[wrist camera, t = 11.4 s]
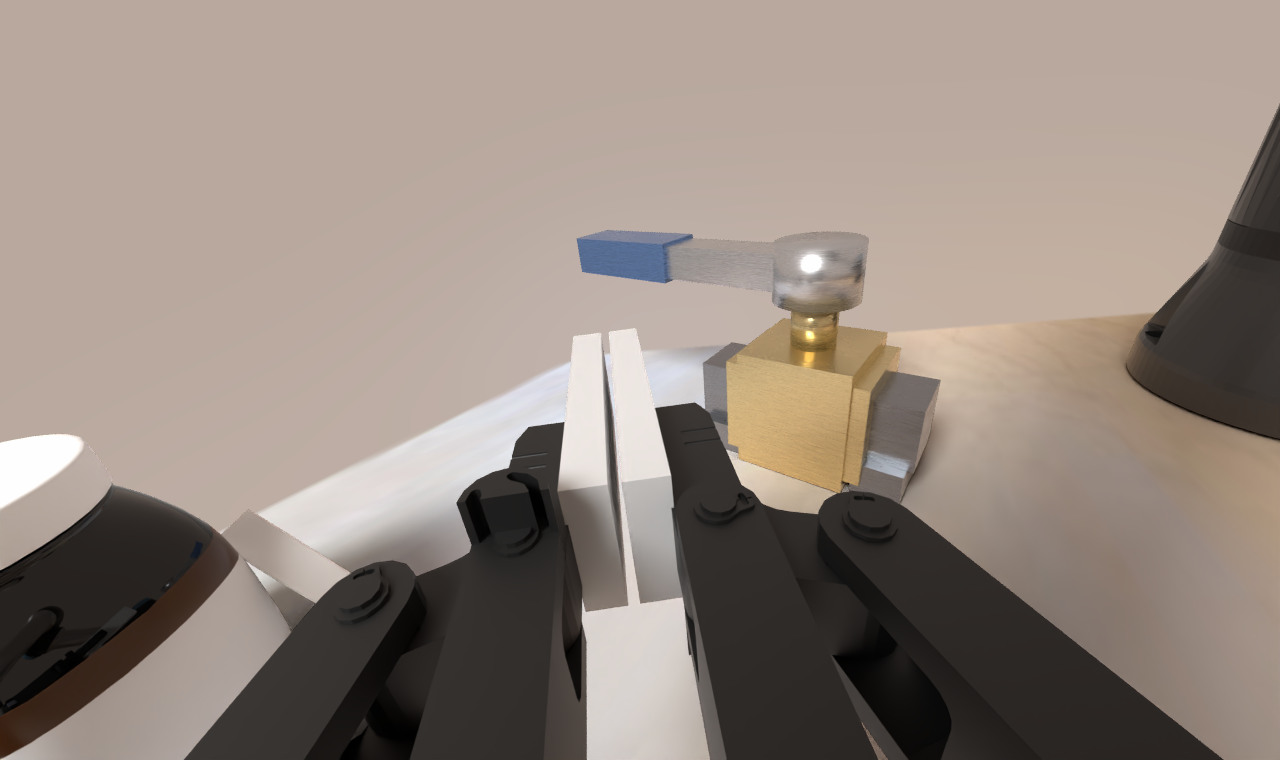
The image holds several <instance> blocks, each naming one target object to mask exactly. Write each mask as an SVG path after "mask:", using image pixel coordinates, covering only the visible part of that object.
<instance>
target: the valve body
mask: <svg viewBox="0 0 1280 760" xmlns="http://www.w3.org/2000/svg"><path fill="white" fill-rule="evenodd" d="M838 323H839V312H833V313H800V312H793V311H791V319H785V318H783V319H782V320H780V321H779V322H778V323H777V324H775V325H774V326H773V327H771V328H769V329H768V330H767V331H765V332H764V333H763V334H761V335H760V336H759V337H757V338H756V339H755V340H754V341H752V342H751V343H750V344H748V345H743V344H738V343H730V344H729V345H728V346H726V347H725V348H724V349H722V350H721V351H719V352H718V353H717V354H715V355H714V356H713V357H711V358H710V359H708V360H707V361H706V362H704V363H703V373H704V392H705V410H706V411H707V412H709V413H710V415H711V418H712V420H713V422H714V424H715V427H716V429H717V431H718V433H719V436H720V438H721V441H722V442H723V445H724V447H725V449H728V450H731V451H734V452H737V453H738V452H739V459H741V460H744V461H747V462H750V463H753V464H756V465H759V466H762V467H764V468H767V469H770V470H773V471H776V472H779V473H782V474H785V475H788V476H791V477H794V478H797V479H799V480H802V481H805V482H808V483H811V484H814V485H817V486H820V487H823V488H826V489H829V490H831V491H834V492H837V493H840V492H841V491H842V489H843V487H844V486H845V484H846V482H847V483H850V484H849V490H850V491H860V492H871V493H874V494H878V495H881V496H884V497H887V498H890V499H892V500H893V501H895V502H897V503H898V504H899V503H900V501H901V499H902V496H903V494H904V492H905V489H906V487H907V485H908V482H909V480H910V478H911V475H912V474H914V471H915V469H916V467H917V464H918V462H919V460H920V457H921V455H922V453H923V450H924V448H925V446H926V443H927V441H928V439H929V434H930V429H931V424H932V419H933V415H934V410H935V405H936V400H937V395H938V390H939V386H940V381H941V380H938V379H932V378H926V377H921V376H915V375H910V374H904V373H899V372H897V369H898V362H899V356H900V350H901V348H899V347H892V346H886V339H887V332H880V331H873V330H866V329H858V328H851V327H843V326H838Z"/></svg>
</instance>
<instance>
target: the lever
mask: <svg viewBox="0 0 1280 760" xmlns="http://www.w3.org/2000/svg"><path fill="white" fill-rule="evenodd" d="M868 242H869V238H868V237H866V236H864V235H861V234H856V233H849V232H812V233H802V234H795V235H790V236H785V237H782V238H779V239H777V240H775V241H774V242H773V243H770V242H751V241H731V240H712V239H693V237H692V234H678V233H655V232H633V231H612V230H607V231H603V232H599V233H595V234H592V235H588V236H584V237H581V238H577V243H578V249H579V255H580V261H581V267H582V272H586V273H593V274H601V275H608V276H616V277H623V278H631V279H637V280H645V281H652V282H660V283H667V282H670V281H672V280H682V281H689V282H697V283H704V284H712V285H720V286H728V287H736V288H745V289H751V290H760V291H768V292H772V302H773V303H774V304H775V305H776V306H778V307H779V308H782V309H785V310H789V311H793V312H800V313H833V312H840V311H845V310H848V309H852V308H854V307H856V306H858V305H859V304H860V303H861V302H862V296H863V287H864V277H865V268H866V259H867V250H868Z"/></svg>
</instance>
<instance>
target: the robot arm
mask: <svg viewBox="0 0 1280 760" xmlns="http://www.w3.org/2000/svg"><path fill="white" fill-rule="evenodd" d="M609 341H610V353H611V365H612V376H613V388H614V400H615V411H616V423H617V435H618V446H619V458H620V469H621V481H622V488H623V495H624V501H625V507H626V514H627V520H628V527H629V533H630V540H631V546H632V553H633V559H634V566H635V572H636V578H637V585H638V591H639V598H640V604H641V603H647V602H654V601H661V600H667V599H674V598H680V597H682V596H683V601H684V607H685V618H686V629H687V639H688V650H689V655H692V661H693V666H694V672H695V677H696V683H697V689H698V694H699V700H700V705H701V711H702V716H703V722H704V727H705V733H706V739H707V744H708V750H709V755H710V760H878V758H877V756H876V754H875V752H874V750H873V747H872V745H871V743H870V741H869V739H868V736H867V734H866V732H865V730H864V728H863V725H862V723H861V721H862V722H863V724H864V725H865V727H866V728H867V730H868V731H869V732H870V734H871V735H872V737H873V738H874V740H875V741H876V742H877V744H878V745H879V747H880V748H881V750H882V751H883V753H884V754H885V755H886V757H887V758H888V760H1223V759H1222V758H1221V757H1219V756H1218V755H1217V754H1216V753H1214V752H1213V751H1212V750H1211V749H1209V748H1208V747H1207V746H1206V745H1204V744H1203V743H1202V742H1201V741H1199V740H1198V739H1197V738H1195V737H1194V736H1193V735H1192V734H1190V733H1189V732H1188V731H1187V730H1185V729H1184V728H1183V727H1182V726H1180V725H1179V724H1178V723H1177V722H1175V721H1174V720H1173V719H1172V718H1170V717H1169V716H1168V715H1166V714H1165V713H1164V712H1163V711H1161V710H1160V709H1159V708H1158V707H1156V706H1155V705H1154V704H1153V703H1151V702H1150V701H1149V700H1148V699H1146V698H1145V697H1144V696H1143V695H1141V694H1140V693H1139V692H1137V691H1136V690H1135V689H1134V688H1132V687H1131V686H1130V685H1129V684H1127V683H1126V682H1125V681H1124V680H1122V679H1121V678H1120V677H1119V676H1117V675H1116V674H1115V673H1113V672H1112V671H1111V670H1110V669H1108V668H1107V667H1106V666H1105V665H1103V664H1102V663H1101V662H1100V661H1098V660H1097V659H1096V658H1095V657H1093V656H1092V655H1091V654H1090V653H1088V652H1087V651H1086V650H1084V649H1083V648H1082V647H1081V646H1079V645H1078V644H1077V643H1076V642H1074V641H1073V640H1072V639H1071V638H1069V637H1068V636H1067V635H1066V634H1064V633H1063V632H1062V631H1061V630H1059V629H1058V628H1057V627H1055V626H1054V625H1053V624H1052V623H1050V622H1049V621H1048V620H1047V619H1045V618H1044V617H1043V616H1042V615H1040V614H1039V613H1038V612H1037V611H1035V610H1034V609H1033V608H1032V607H1030V606H1029V605H1028V604H1026V603H1025V602H1024V601H1023V600H1021V599H1020V598H1019V597H1018V596H1016V595H1015V594H1014V593H1013V592H1011V591H1010V590H1009V589H1008V588H1006V587H1005V586H1004V585H1003V584H1001V583H1000V582H999V581H997V580H996V579H995V578H994V577H992V576H991V575H990V574H989V573H987V572H986V571H985V570H984V569H982V568H981V567H980V566H979V565H977V564H976V563H975V562H974V561H972V560H971V559H970V558H968V557H967V556H966V555H965V554H963V553H962V552H961V551H960V550H958V549H957V548H956V547H955V546H953V545H952V544H951V543H950V542H948V541H947V540H946V539H945V538H943V537H942V536H941V535H939V534H938V533H937V532H936V531H934V530H933V529H932V528H931V527H929V526H928V525H927V524H926V523H924V522H923V521H922V520H921V519H919V518H918V517H917V516H916V515H914V514H913V513H912V512H910V511H909V510H908V509H907V508H905V507H903V506H902V505H900V504H898V503H897V502H895V501H893V500H892V499H890V498H887V497H884V496H881V495H878V494H874V493H871V492H860V491H849V492H843V493H837V494H835V495H833V496H832V497H830V498H828V499H826V500H825V501H824V503H823V505H822V506H821V508H820V510H819V514H809V513H799V512H789V511H784V510H778V509H774V508H772V507H769V506H766V505H764V504H762V503H761V502H760V500H759V499H758V498H757V497H756V495H755V494H754V493H753V492H752V491H750V490H749V489H747V488H745V487H744V486H742V485H741V483H740V481H739V478H738V476H737V474H736V472H735V469H734V467H733V465H732V463H731V460H730V458H729V456H728V454H727V451H726V449H725V447H724V445H723V442H722V441H721V438H720V436H719V433H718V431H717V429H716V427H715V424H714V422H713V420H712V418H711V415H710V413H709V412H707V411H706V410H705V409H703V408H702V407H701V406H699V405H698V404H696V403H688V404H681V405H674V406H667V407H659V408H655V406H654V402H653V398H652V394H651V390H650V386H649V381H648V377H647V373H646V369H645V365H644V361H643V357H642V352H641V348H640V344H639V340H638V336H637V332H636V328H635V329H626V330H619V331H611V332H609ZM1126 365H1127V369H1128V371H1129V372H1130V374H1131V375H1132V376H1133V377H1134V378H1135V379H1136V380H1137V381H1138V382H1139V383H1140V384H1142V385H1143V386H1144V387H1146V388H1147V389H1149V390H1151V391H1152V392H1154V393H1156V394H1157V395H1159V396H1161V397H1163V398H1165V399H1167V400H1169V401H1171V402H1173V403H1175V404H1177V405H1180V406H1182V407H1184V408H1186V409H1189V410H1191V411H1194V412H1196V413H1199V414H1201V415H1204V416H1207V417H1209V418H1212V419H1215V420H1218V421H1221V422H1224V423H1227V424H1230V425H1233V426H1236V427H1239V428H1243V429H1246V430H1249V431H1252V432H1256V433H1260V434H1263V435H1267V436H1270V437H1274V438H1278V439H1280V105H1279V107H1278V109H1277V111H1276V113H1275V115H1274V118H1273V120H1272V122H1271V124H1270V126H1269V129H1268V131H1267V133H1266V135H1265V137H1264V139H1263V142H1262V144H1261V146H1260V148H1259V150H1258V153H1257V155H1256V157H1255V159H1254V161H1253V164H1252V166H1251V168H1250V170H1249V172H1248V175H1247V177H1246V179H1245V181H1244V183H1243V185H1242V188H1241V190H1240V192H1239V194H1238V197H1237V199H1236V201H1235V203H1234V205H1233V207H1232V210H1231V212H1230V214H1229V216H1228V219H1227V221H1226V224H1225V226H1224V228H1223V230H1222V233H1221V235H1220V237H1219V240H1218V241H1217V243H1216V245H1215V248H1214V250H1213V252H1212V253H1211V255H1210V256H1209V257H1208V259H1207V260H1206V261H1205V262H1204V263H1203V264H1202V265H1201V266H1200V267H1199V269H1198V270H1197V271H1196V272H1195V273H1194V274H1193V275H1192V276H1191V277H1190V278H1189V279H1188V280H1187V281H1186V282H1185V283H1184V284H1183V286H1182V287H1181V288H1180V289H1179V290H1178V291H1177V292H1176V293H1175V294H1174V295H1173V296H1172V297H1171V298H1170V300H1168V301H1167V303H1165V305H1164V306H1163V307H1162V308H1161V309H1160V310H1159V311H1158V312H1157V313H1156V314H1155V315H1154V316H1153V317H1152V318H1151V319H1150V321H1149V322H1148V323H1147V324H1145V326H1144V327H1143V328H1142V329H1141V330H1140V332H1139V333H1138V335H1137V337H1136V339H1135V342H1134V344H1133V347H1132V349H1131V352H1130V354H1129V357H1128V359H1127V363H1126ZM457 506H458V509H459V511H460V514H461V517H462V520H463V522H464V525H465V528H466V531H467V533H468V536H469V539H470V542H471V544H472V546H471V549H470V552H469V553H468V554H466V555H465V556H463V557H462V558H460V559H458V560H455V561H453V562H451V563H449V564H447V565H444V566H442V567H439V568H437V569H434V570H432V571H429V572H427V573H424V574H421V575H419V576H415V574H414V572H413V571H412V570H411V569H410V568H409V567H408V565H407V564H405V563H401V562H397V561H385V562H377V563H373V564H371V565H368V566H365V567H363V568H360V569H357V570H355V571H354V572H352V573H351V574H349V575H347V576H346V577H344V578H343V579H341V580H339V581H338V582H337V583H336V584H335V585H333V586H332V587H331V588H330V589H329V590H328V591H327V592H326V593H325V594H324V595H323V596H322V597H321V598H320V599H319V600H318V601H317V603H316V604H315V605H314V606H313V607H312V609H311V610H310V611H309V612H308V613H307V614H306V616H305V617H304V618H303V619H302V620H301V622H300V623H299V624H298V625H297V626H296V627H295V629H294V630H293V631H292V632H291V633H290V635H289V636H288V637H287V638H286V639H285V640H284V642H283V643H282V644H281V645H280V646H279V648H278V649H277V650H276V651H275V652H274V653H273V655H272V656H271V657H270V658H269V659H268V661H267V662H266V663H265V664H264V665H263V666H262V668H261V669H260V670H259V671H258V672H257V674H256V675H255V676H254V677H253V678H252V679H251V681H250V682H249V683H248V684H247V685H246V687H245V688H244V689H243V690H242V691H241V692H240V694H239V695H238V696H237V697H236V698H235V700H234V701H233V702H232V703H231V704H230V705H229V707H228V708H227V709H226V710H225V711H224V713H223V714H222V715H221V716H220V717H219V718H218V720H217V721H216V722H215V723H214V724H213V726H212V727H211V728H210V729H209V730H208V731H207V733H206V734H205V735H204V736H203V737H202V739H201V740H200V741H199V742H198V743H197V744H196V746H195V747H194V748H193V749H192V750H191V752H190V753H189V754H188V755H187V756H186V757H185V759H184V760H587V693H586V638H585V633H584V629H583V625H582V598H583V602H584V607H585V611H586V612H588V611H595V610H601V609H608V608H614V607H621V606H628V597H627V584H626V571H625V558H624V545H623V532H622V519H621V506H620V493H619V480H618V467H617V454H616V441H615V428H614V416H613V409H612V403H611V396H610V390H609V383H608V377H607V370H606V363H605V357H604V351H603V344H602V337H601V333H595V334H588V335H580V336H574V338H573V348H572V357H571V366H570V376H569V385H568V395H567V404H566V414H565V422H562V423H555V424H547V425H540V426H533V427H528V428H527V430H526V431H525V432H524V433H523V434H522V435H521V436H520V437H519V439H518V440H517V441H516V443H515V447H514V451H513V454H512V460H511V462H510V466H509V468H507V469H503V470H499V471H495V472H492V473H490V474H488V475H486V476H484V477H482V478H480V479H478V480H476V481H475V482H474V483H473V484H472V485H470V486H469V487H468V488H467V489H466V490H464V492H463V493H462V495H461V496H460V498H459V499H458V501H457ZM859 718H860V719H859ZM860 720H861V721H860Z"/></svg>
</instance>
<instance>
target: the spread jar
mask: <svg viewBox="0 0 1280 760" xmlns="http://www.w3.org/2000/svg"><path fill="white" fill-rule="evenodd" d="M246 561H247V562H248V563H250V564H251V565H253V566H254V567H256V568H258V569H259V570H261V571H262V572H264V573H265V574H267V575H269V576H270V577H272V578H273V579H275V580H277V581H278V582H280V583H282V584H283V585H285V586H287V587H288V588H290V589H292V590H293V591H295V592H297V593H298V594H300V595H302V596H303V597H305V598H307V599H309V600H310V601H312V602H314V603H317V601H318V600H319V599H320V598H321V597H322V596H323V595H324V594H325V593H326V592H327V591H328V590H329V589H330V588H331V587H332V586H333V585H335V584H336V583H337V582H338V581H339V580H341V579H343V578H344V577H346V576H347V575H349V574H351V573H350V572H349V571H347V570H345V569H344V568H342V567H341V566H339V565H337V564H336V563H334V562H333V561H331V560H329V559H328V558H326V557H325V556H323V555H321V554H320V553H318V552H317V551H315V550H313V549H312V548H310V547H309V546H307V545H305V544H304V543H302V542H301V541H299V540H297V539H296V538H294V537H293V536H291V535H289V534H288V533H286V532H285V531H283V530H281V529H280V528H278V527H277V526H275V525H273V524H272V523H270V522H269V521H267V520H265V519H264V518H262V517H261V516H259V515H257V514H256V513H254V512H252V511H251V510H249V509H248V510H247V511H246V512H245V513H244V514H243V515H241V516H240V517H239V518H238V519H237V520H236V521H235V522H234V523H233V524H232V525H231V526H230V527H229V528H228V529H227V530H225V531H224V532H223V533H222V534H220V533H218V532H217V531H216V530H215V529H213V528H212V527H211V526H210V525H209V524H207V523H206V522H204V521H202V520H200V519H199V518H197V517H195V516H194V515H192V514H190V513H188V512H186V511H185V510H183V509H181V508H178V507H176V506H174V505H172V504H169V503H167V502H164V501H162V500H160V499H157V498H155V497H152V496H149V495H147V494H143V493H140V492H137V491H134V490H130V489H127V488H124V487H120V486H116V485H113V484H112V475H111V474H110V473H109V471H108V470H107V469H106V467H105V466H104V465H103V463H102V462H101V461H100V460H99V458H98V457H97V456H96V454H95V453H94V452H93V451H92V450H91V448H90V447H89V445H88V444H87V443H86V442H85V441H84V440H83V439H82V438H81V437H78V436H74V435H69V434H68V435H67V434H52V435H42V436H33V437H28V438H22V439H16V440H11V441H6V442H2V443H0V760H184V759H185V757H186V756H187V755H188V754H189V753H190V752H191V750H192V749H193V748H194V747H195V746H196V744H197V743H198V742H199V741H200V740H201V739H202V737H203V736H204V735H205V734H206V733H207V731H208V730H209V729H210V728H211V727H212V726H213V724H214V723H215V722H216V721H217V720H218V718H219V717H220V716H221V715H222V714H223V713H224V711H225V710H226V709H227V708H228V707H229V705H230V704H231V703H232V702H233V701H234V700H235V698H236V697H237V696H238V695H239V694H240V692H241V691H242V690H243V689H244V688H245V687H246V685H247V684H248V683H249V682H250V681H251V679H252V678H253V677H254V676H255V675H256V674H257V672H258V671H259V670H260V669H261V668H262V666H263V665H264V664H265V663H266V662H267V661H268V659H269V658H270V657H271V656H272V655H273V653H274V652H275V651H276V650H277V649H278V648H279V646H280V645H281V644H282V643H283V642H284V640H285V639H286V638H287V637H288V636H289V635H290V633H291V630H290V628H289V626H288V624H287V622H286V620H285V618H284V617H283V615H282V613H281V612H280V610H279V609H278V607H277V605H276V604H275V603H274V601H273V600H272V598H271V597H270V595H269V594H268V592H267V591H266V589H265V588H264V587H263V585H262V584H261V582H260V581H259V579H258V578H257V576H256V575H255V573H254V572H253V571H252V569H251V568H250V567H249V565H248V564H247V563H246Z"/></svg>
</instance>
